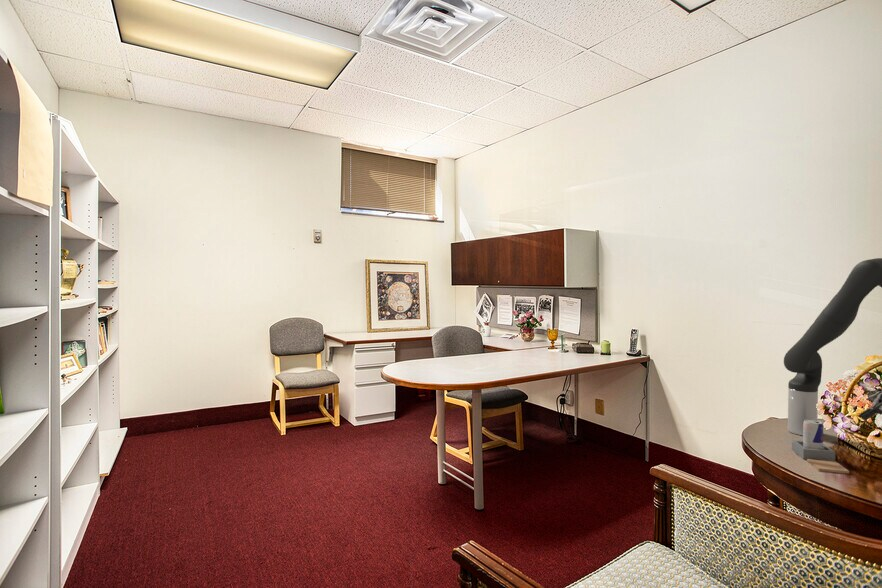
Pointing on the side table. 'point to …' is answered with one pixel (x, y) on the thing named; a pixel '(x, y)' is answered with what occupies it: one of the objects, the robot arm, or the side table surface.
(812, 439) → the energy drink
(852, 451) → the side table surface
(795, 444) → the square collar
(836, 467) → the light tan wooden coaster
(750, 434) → the side table surface
